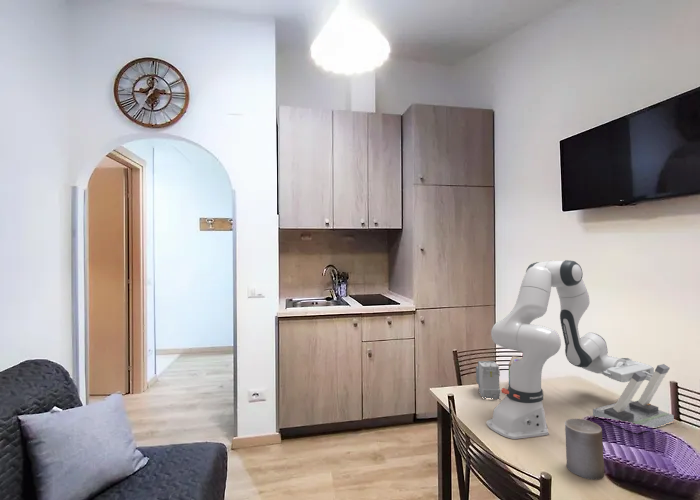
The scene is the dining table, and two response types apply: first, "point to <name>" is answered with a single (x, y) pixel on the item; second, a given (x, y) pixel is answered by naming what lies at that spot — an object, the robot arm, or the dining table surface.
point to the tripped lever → (653, 384)
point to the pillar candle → (584, 448)
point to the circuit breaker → (488, 379)
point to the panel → (636, 414)
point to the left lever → (630, 391)
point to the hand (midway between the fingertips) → (652, 378)
